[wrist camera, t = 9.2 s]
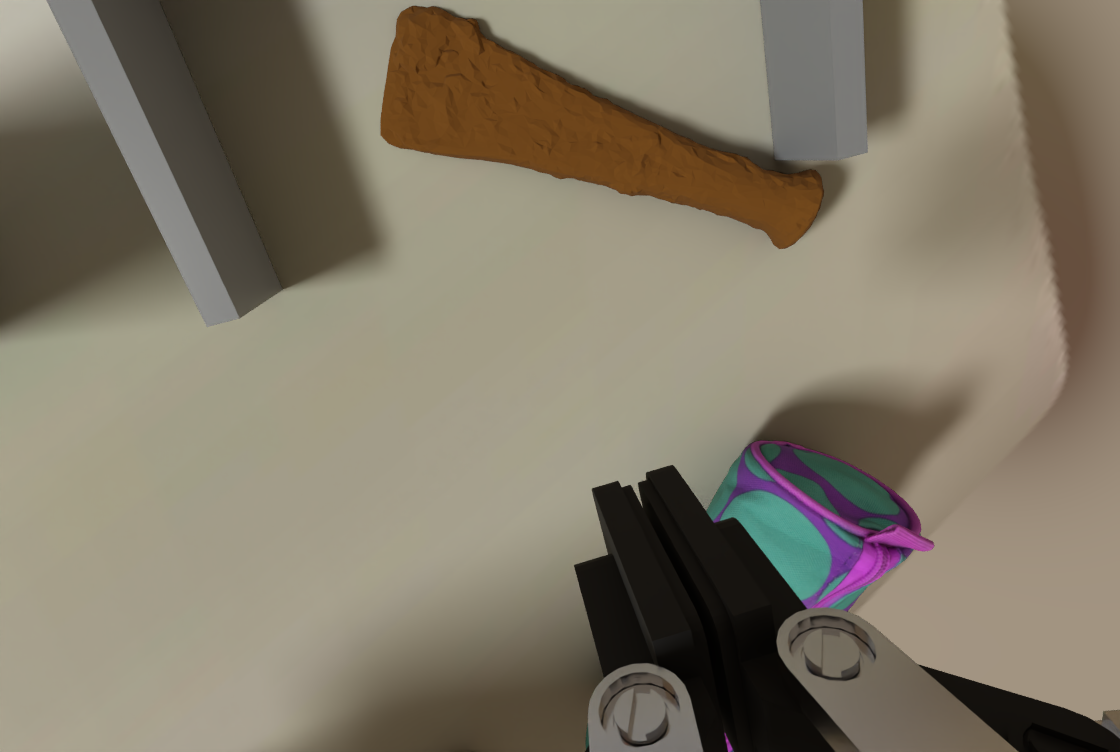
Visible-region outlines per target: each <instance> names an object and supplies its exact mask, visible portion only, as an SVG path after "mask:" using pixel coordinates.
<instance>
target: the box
mask: <svg viewBox="0 0 1120 752" xmlns="http://www.w3.org/2000/svg"><path fill="white" fill-rule="evenodd" d="M47 2H48V4H49V6H50V8H51V10H52V12H53V14H54V17H55V19H56V21H57V23H58V25H59V27H60V29H61V31H62V33H63V35H64V37H65V39H66V41H67V43H68V45H69V47H70V49H71V51H72V53H73V55H74V57H75V59H76V61H77V63H78V65H79V67H80V69H81V72H82V74H83V76H84V78H85V80H86V82H87V84H88V86H89V88H90V90H91V92H92V94H93V96H94V98H95V100H96V102H97V104H98V106H99V108H100V110H101V112H102V114H103V116H104V118H105V120H106V122H107V124H108V126H109V129H110V131H111V133H112V135H113V137H114V139H115V141H116V143H117V145H118V147H119V149H120V151H121V153H122V155H123V157H124V159H125V161H126V163H127V165H128V167H129V169H130V171H131V173H132V175H133V177H134V179H135V181H136V183H137V186H138V188H139V190H140V192H141V194H142V196H143V198H144V200H145V202H146V204H147V206H148V208H149V210H150V212H151V214H152V216H153V218H154V220H155V222H156V224H157V226H158V228H159V230H160V232H161V234H162V236H163V238H164V240H165V243H166V245H167V247H168V249H169V251H170V253H171V255H172V257H173V259H174V261H175V263H176V265H177V267H178V269H179V271H180V273H181V275H182V277H183V279H184V281H185V283H186V285H187V287H188V289H189V291H190V293H191V295H192V297H193V300H194V302H195V304H196V306H197V308H198V310H199V312H200V314H201V316H202V318H203V320H204V322H205V324H206V326H207V327H209V326H213V325H216V324H220V323H224V322H228V321H231V320H235V319H239V318H241V317H242V316H244V315H245V314H247V313H248V312H250V311H251V310H253V309H254V308H256V307H257V306H259V305H260V304H262V303H263V302H265V301H266V300H268V299H269V298H271V297H272V296H274V295H275V294H277V293H278V292H280V291H281V290H283V289H282V287H281V285H280V282H279V280H278V278H277V275H276V273H275V271H274V268H273V266H272V264H271V261H270V259H269V257H268V254H267V252H266V250H265V247H264V245H263V243H262V240H261V238H260V236H259V233H258V231H257V229H256V226H255V224H254V222H253V219H252V217H251V215H250V212H249V210H248V208H247V205H246V203H245V201H244V198H243V196H242V194H241V191H240V189H239V187H238V184H237V182H236V180H235V177H234V175H233V173H232V170H231V168H230V166H229V163H228V161H227V159H226V156H225V154H224V152H223V149H222V147H221V145H220V142H219V140H218V138H217V135H216V133H215V131H214V128H213V126H212V124H211V121H210V119H209V117H208V114H207V112H206V110H205V107H204V105H203V103H202V100H201V98H200V96H199V93H198V91H197V89H196V86H195V84H194V81H193V79H192V77H191V74H190V72H189V70H188V67H187V65H186V63H185V60H184V58H183V56H182V53H181V51H180V49H179V46H178V44H177V42H176V39H175V37H174V35H173V32H172V30H171V28H170V25H169V23H168V21H167V18H166V16H165V14H164V11H163V9H162V7H161V4H160V2H159V0H47ZM760 3H761V14H762V25H763V36H764V47H765V57H766V68H767V79H768V90H769V101H770V112H771V123H772V134H773V145H774V156H775V160H841V159H845V158H848V157H852V156H856V155H860V154H864V153H867V152H868V145H867V115H866V86H865V56H864V26H863V0H760Z"/></svg>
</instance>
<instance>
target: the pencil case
mask: <svg viewBox="0 0 1120 752" xmlns="http://www.w3.org/2000/svg"><path fill="white" fill-rule="evenodd" d="M706 512H707V513H708V515H709V516H710V518H711V519H712V520H713V522H714V523H715V522H718V521H722V520H725V519H728V518H731V517H734V518H736V519H737V520H738V521H739V522H740V523H741V524H742V525H743V527H744V528H745V529H746V531H747V532H748V533H749V534H750V536H751V537H752V538H753V540H754V541H755V542H756V543H757V545H758V546H759V547H760V549H761V550H762V551H763V552H764V554H765V555H766V556H767V557H768V559H769V560H770V561H771V563H772V564H773V565H774V566H775V568H776V569H777V570H778V572H779V573H780V574H781V575H782V577H783V578H784V579H785V581H786V582H787V583H788V584H789V586H790V587H791V588H792V590H793V591H794V592H795V593H796V595H797V596H798V597H799V599H800V600H801V601H802V602H803V604H804V605H805V606H806V608H807V609H809V608H823V607H828V608H834V609H840V610H844V611H847V612H848V610H849V609H850V608H851V606H852V605H853V604H854V603H855V601H856V600H857V599H858V597H859V596H860V595H861V594H862V593H863V592H864V590H865V589H866V588H867V587H868V586H869V585H870V584H872V583H873V582H875V581H876V580H877V579H879V578H880V577H881V576H882V575H883V574H885V573H887V572H888V571H890V570H891V569H893V568H895V567H896V566H898V565H899V564H900V563H902V562H903V561H904V560H906V558H907V557H908V556H909V555H910V554H911V552H912V551H913V550H914V549H915V550H918V551H929V550H931V549H933V547H934V543H933V542H932V541H931V540H929V539H926V538H924V537H922V536H921V535H920V532H921V524H920V520H919V518H918V516H917V514H916V513H915V512H914V510H913V509H912V508H911V507H910V506H909V504H908V503H907V502H906V501H905V500H904V499H903V498H901V497H900V496H899V495H898V494H897V493H895V492H894V491H893V490H892V489H890V488H889V487H887V486H886V485H885V484H883V483H882V482H880V481H879V480H877V479H876V478H874V477H873V476H871V475H869V474H867V473H866V472H864V471H862V470H860V469H858V468H857V467H855V466H853V465H851V464H849V463H847V462H845V461H842V460H840V459H838V458H835V457H833V456H830V455H827V454H824V453H821V452H818V451H814V450H811V449H807V448H804V447H803V446H801V445H796V444H793V443H789V442H785V441H757V442H753V443H751V444H749V445H748V446H747V447H746V448H745V449H744V450H743V452H742V453H741V455H740V456H739V457H738V459H737V460H736V461H735V462H734V463H733V464H732V466H731V467H730V469H729V472H728V474H727V476H726V477H725V479H724V480H723V482H722V484H721V485H720V487H719V489H718V490H717V492H716V494H715V496H714V498H713V499H712V501H711V503H710V505H709V507H708V509H707V511H706ZM725 738H726V743H727V748H728V752H734V751H733V749H732V747H731V745H730V743H729V741H728V738H727V736H726V734H725ZM588 746H589V731H588V725H587V731H586V749H587V747H588Z"/></svg>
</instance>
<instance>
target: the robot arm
mask: <svg viewBox="0 0 1120 752" xmlns="http://www.w3.org/2000/svg"><path fill="white" fill-rule="evenodd" d="M638 487H639V492H640V497H641V501H642V506H643V507H642V506H641V504H640V502H639V500H638V498H637V496H636V494H635V492H634V490H633V488H632V486H631V485H628V486H625V487H621V485H620V483H619V482H618V481H616V482H612V483H609V484H606V485H602V486H599V487H595V488H592V493H593V497H594V501H595V505H596V509H597V513H598V517H599V521H600V524H601V528H602V532H603V536H604V540H605V544H606V548H607V552H608V555H606V556H602V557H599V558H596V559H592V560H589V561H586V562H582V563H579V564H576V565H574V567H575V571H576V575H577V578H578V582H579V586H580V589H581V593H582V597H583V601H584V604H585V608H586V612H587V615H588V619H589V623H590V627H591V630H592V634H593V638H594V641H595V645H596V649H597V653H598V656H599V660H600V664H601V667H602V671H603V675H604V679H603V680H602V681H601V682H600V683H599V685H598V686H597V687H596V688H595V690H594V692H593V695H592V697H591V699H590V701H589V709H588V731H589V746H588V747H587V749H586V751H585V752H728V748H727V743H726V738H725V734H726V736H727V738H728V741H729V743H730V745H731V747H732V749H733V751H734V752H1120V710H1111V711H1103V717H1102V720H1098V721H1093V720H1092V719H1090V718H1088V717H1086V716H1083V715H1081V714H1078V713H1075V712H1073V711H1070V710H1068V709H1065V708H1062V707H1059V706H1055V705H1052V704H1049V703H1046V702H1042V701H1039V700H1035V699H1032V698H1029V697H1025V696H1022V695H1018V694H1015V693H1012V692H1009V691H1005V690H1002V689H998V688H995V687H992V686H989V685H985V684H982V683H978V682H975V681H972V680H969V679H965V678H962V677H958V676H955V675H951V674H948V673H945V672H942V671H938V670H935V669H932V668H928V667H925V666H922V665H918V664H917V663H915V662H914V661H913V660H912V659H911V658H910V657H908V656H907V655H906V654H905V653H904V652H903V651H902V650H900V649H899V648H898V647H897V646H896V645H894V644H893V643H892V642H891V641H890V640H888V638H886V637H885V636H884V635H883V634H882V633H881V632H879V631H878V630H877V629H876V628H875V627H874V626H872V625H871V624H870V623H868V622H867V621H865V620H864V619H862V618H861V617H859V616H857V615H854V614H852V613H849V612H847V611H844V610H840V609H834V608H828V607H823V608H809V609H807V608H806V606H805V605H804V604H803V602H802V601H801V600H800V599H799V597H798V596H797V595H796V593H795V592H794V591H793V590H792V588H791V587H790V586H789V584H788V583H787V582H786V581H785V579H784V578H783V577H782V575H781V574H780V573H779V572H778V570H777V569H776V568H775V566H774V565H773V564H772V563H771V561H770V560H769V559H768V557H767V556H766V555H765V554H764V552H763V551H762V550H761V549H760V547H759V546H758V545H757V543H756V542H755V541H754V540H753V538H752V537H751V536H750V534H749V533H748V532H747V531H746V529H745V528H744V527H743V525H742V524H741V523H740V522H739V521H738V520H737V519H736V518H734V517H731V518H728V519H725V520H722V521H718V522H715V523H714V522H713V520H712V519H711V518H710V516H709V515H708V513H707V512H706V511H705V509H704V508H703V506H702V505H701V503H700V502H699V501H698V499H697V498H696V496H695V495H694V493H693V492H692V491H691V489H690V488H689V486H688V485H687V484H686V482H685V481H684V479H683V478H682V476H681V475H680V474H679V472H678V471H677V469H676V468H675V467H674V466H673V465H670V466H667V467H663V468H660V469H657V470H653V471H650V472H646V480H645V481H642V482H638Z"/></svg>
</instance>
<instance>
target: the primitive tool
mask: <svg viewBox="0 0 1120 752" xmlns="http://www.w3.org/2000/svg"><path fill="white" fill-rule="evenodd" d="M381 136H382V137H383V138H384V139H385V140H386V141H387V142H388V143H389V144H391V145H393V146H396V147H399V148H404V149H412V150H417V151H420V152H425V153H431V154H435V155H443V156H449V157H456V158H464V159H476V160H485V161H492V162H499V163H506V164H512V165H516V166H520V167H525V168H529V169H533V170H535V171H538V172H542V173H547V174H551V175H552V176H554V177H556V178H559V179H564V178H574V179H577V180H582V181H585V182H591V183H594V184H598V185H604V186H607V187H609V188H612V189H615V190H617V191H618V192H619V193H620V194H627V195H630V196H634V195H650V196H653V197H656V198H658V199H662V200H666V201H669V202H671V203H677V204H681V205H688V206H691V207H695V208H697V209H699V210H702V209H703V210H706V211H710V212H713V213H715V214H716V215H720V216H727V217H730V218H733V219H735V220H738V221H740V222H743V223H745V224H748V225H750V226H751V227H753V228H756V229H761V230H763V231H765V232H766V233H767V234H768V236H769V237H770V239H771V241H772V243H773V245H775V246H776V247H778V248H779V249H785V248H788V247H789V246H791V245H793V244H795V243H796V242H797V241H798V240H799V239H800V238H801V237H802V236H803V235H804V234H805V233H806V231H807V230H808V229H809V228H810V227H811V225H812V223H813V221H814V219H815V218H816V216H817V212H818V211H819V209H820V206H821V202H822V198H823V195H824V190H823V185H822V178H821V176H820V175H819V173H818V172H817V171H816V170H812V169H809V170H805V171H802V172H799V173H794V174H783V173H779V172H775V171H772V170H764V169H761V168H760V167H759V166H757V165H756V164H754V163H753V162H751V161H750V160H749V159H748V158H747V157H742V156H739V155H738V154H734V153H728V152H723V151H718V150H715V149H711V148H708V147H706V146H704V145H701V144H698V143H696V142H694V141H693V140H691V139H689V138H685V137H683V136H680V135H678V134H676V133H674V132H672V131H670V130H668V129H666V128H664V127H662V126H660V125H657V124H655V123H653V122H651V121H648V120H646V119H644V118H642V117H639V116H637V115H635V114H633V113H631V112H629V111H627V110H625V109H623V108H621V107H619V106H617V105H614V104H613V103H611V102H610V101H609V100H608V99H603V98H599V97H596V96H593V95H592V94H591V93H590V92H589V91H588V90H586V89H585V88H581V87H579V86H576V85H571V84H570V83H568V82H566V80H565V79H564V78H562V77H560V76H559V75H557V74H554V73H552V72H549V71H546V70H543V69H541V68H539V67H537V66H536V65H535V64H534V63H532V62H530V61H528V60H526V59H525V58H523V57H521V56H520V55H518V54H516V53H514V52H512V51H509V50H506V49H504V48H503V47H501V46H500V45H498V44H496V43H495V42H493V41H491V40H489V39H487V38H486V37H485V36H483V35H482V34H481V33H480V29H479V25H478V22H477V20H475V19H473V18H472V19H463V18H456V17H454V16H452V15H451V14H449V13H448V12H446V11H444V10H442V9H440V8H438V7H434V6H431V7H428V8H425V7H419V6H411V7H409V8H407V9H406V10H404V11H402V12H401V13H400V15H399V17H398V18H397V24H396V37H395V39H394V42H393V44H392V47H391V52H390V58H389V65H388V72H387V78H386V85H385V91H384V98H383V105H382V113H381Z"/></svg>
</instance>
